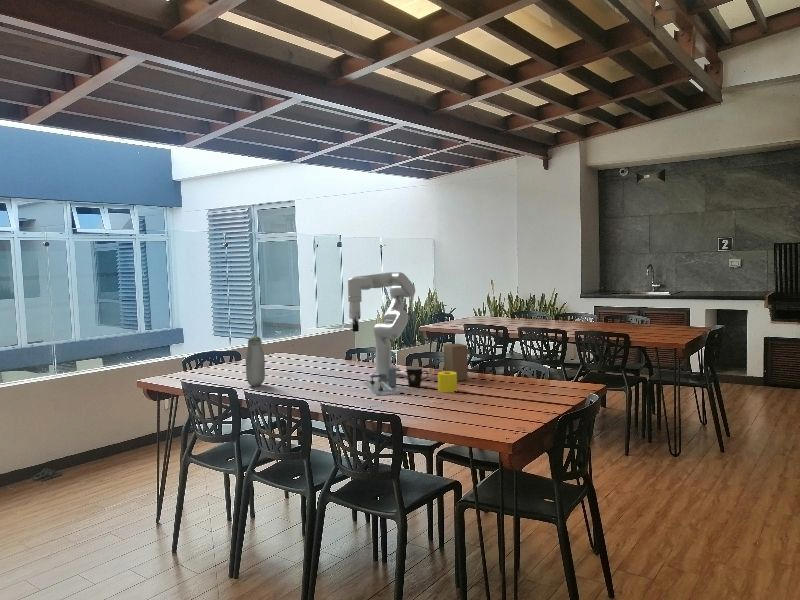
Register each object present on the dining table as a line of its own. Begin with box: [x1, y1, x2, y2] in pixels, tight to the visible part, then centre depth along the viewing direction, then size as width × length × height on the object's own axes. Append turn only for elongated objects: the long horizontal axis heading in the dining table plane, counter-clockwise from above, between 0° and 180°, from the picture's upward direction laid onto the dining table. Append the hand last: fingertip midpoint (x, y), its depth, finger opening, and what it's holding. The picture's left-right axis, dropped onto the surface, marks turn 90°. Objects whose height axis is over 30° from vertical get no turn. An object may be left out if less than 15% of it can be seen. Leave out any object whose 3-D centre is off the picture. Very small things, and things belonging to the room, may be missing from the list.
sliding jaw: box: [377, 367, 397, 387], centre depth 320 cm, size 9×5×9 cm, turn 106°
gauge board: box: [363, 374, 400, 397], centre depth 329 cm, size 12×30×6 cm, turn 16°
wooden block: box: [443, 343, 469, 381], centre depth 350 cm, size 10×10×20 cm
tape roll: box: [437, 370, 458, 393], centre depth 321 cm, size 10×10×9 cm
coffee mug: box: [406, 366, 429, 388], centre depth 333 cm, size 12×9×10 cm
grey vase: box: [245, 335, 266, 387], centre depth 343 cm, size 10×10×28 cm
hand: (355, 331), depth 348 cm, fingers closed
